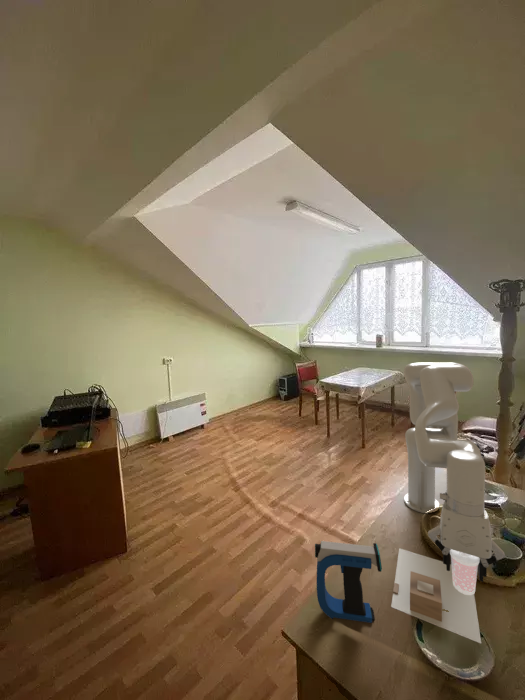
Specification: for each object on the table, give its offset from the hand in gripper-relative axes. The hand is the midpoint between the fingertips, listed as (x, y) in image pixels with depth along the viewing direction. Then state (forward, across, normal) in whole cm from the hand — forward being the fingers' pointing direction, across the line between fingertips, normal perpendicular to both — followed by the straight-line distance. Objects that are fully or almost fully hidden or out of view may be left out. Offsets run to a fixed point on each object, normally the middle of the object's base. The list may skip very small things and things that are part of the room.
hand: (463, 571), depth 72 cm
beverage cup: (+4, 0, 0) cm, 4 cm away
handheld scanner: (+13, -26, -12) cm, 31 cm away
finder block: (+12, -8, -1) cm, 15 cm away
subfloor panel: (+13, -6, +5) cm, 15 cm away
